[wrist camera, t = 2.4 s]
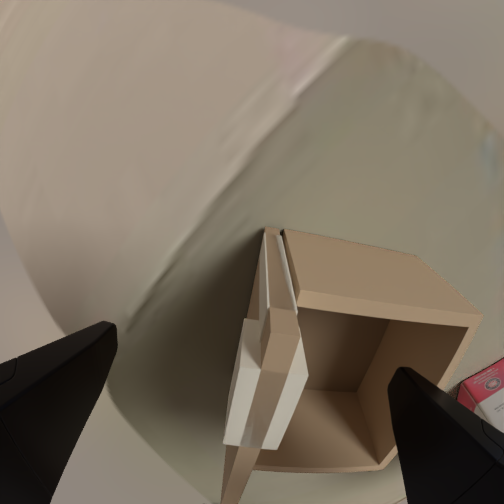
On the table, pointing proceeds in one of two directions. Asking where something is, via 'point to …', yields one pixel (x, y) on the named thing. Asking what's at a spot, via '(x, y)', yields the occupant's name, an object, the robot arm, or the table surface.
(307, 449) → the carton
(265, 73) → the table surface
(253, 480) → the table surface
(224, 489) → the end flap
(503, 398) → the ink box
